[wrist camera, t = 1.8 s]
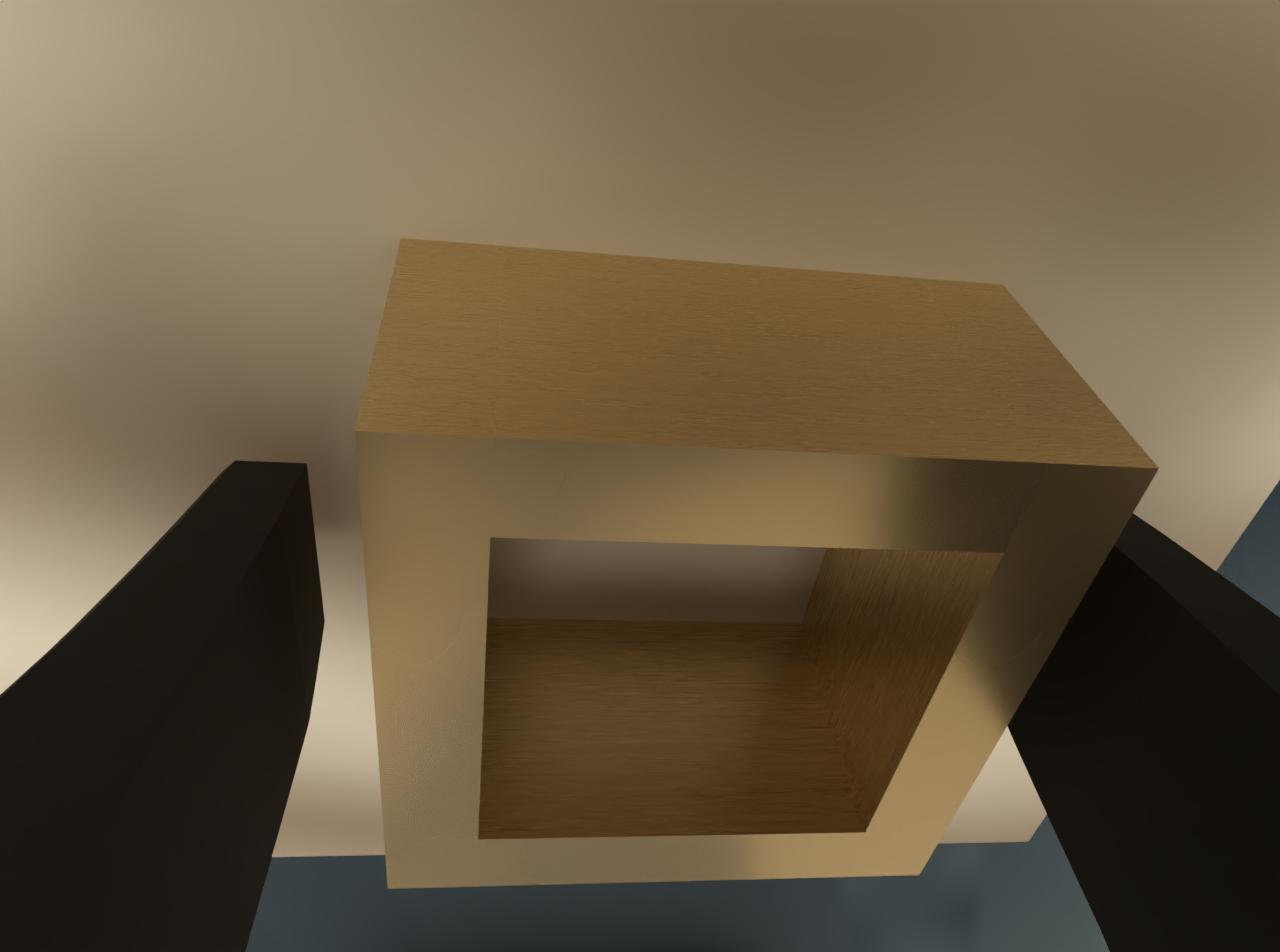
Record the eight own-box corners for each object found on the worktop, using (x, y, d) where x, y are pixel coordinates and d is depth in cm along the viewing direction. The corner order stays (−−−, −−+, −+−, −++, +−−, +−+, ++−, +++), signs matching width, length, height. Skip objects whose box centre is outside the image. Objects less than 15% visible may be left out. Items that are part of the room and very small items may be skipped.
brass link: (849, 669, 12) (920, 875, 10) (414, 665, 11) (387, 888, 9) (1002, 284, 9) (1158, 468, 7) (400, 237, 8) (355, 432, 6)
